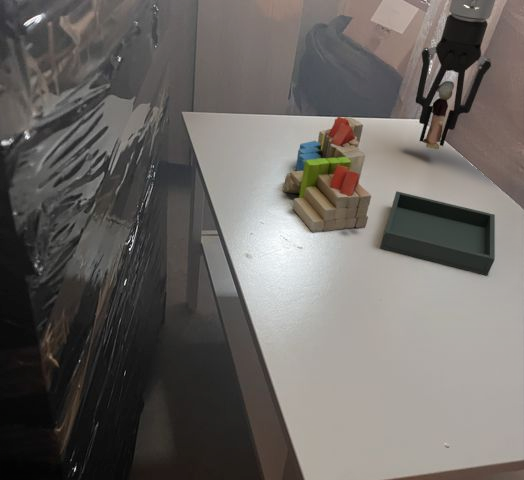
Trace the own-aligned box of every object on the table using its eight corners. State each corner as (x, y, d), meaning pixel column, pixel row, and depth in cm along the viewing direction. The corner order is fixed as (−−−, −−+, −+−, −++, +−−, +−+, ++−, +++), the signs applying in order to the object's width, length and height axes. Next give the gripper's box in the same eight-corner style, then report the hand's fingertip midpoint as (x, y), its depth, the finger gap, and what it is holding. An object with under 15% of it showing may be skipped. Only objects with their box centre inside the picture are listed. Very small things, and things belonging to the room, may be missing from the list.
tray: (488, 229, 104) (494, 214, 102) (487, 275, 93) (494, 259, 91) (392, 206, 107) (396, 191, 105) (379, 248, 96) (384, 231, 94)
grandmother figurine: (446, 151, 121) (466, 88, 113) (429, 151, 120) (448, 87, 112) (430, 136, 127) (449, 75, 118) (414, 136, 126) (431, 74, 117)
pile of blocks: (285, 142, 123) (292, 88, 116) (353, 151, 124) (364, 97, 116) (281, 228, 97) (290, 165, 89) (367, 239, 97) (384, 177, 90)
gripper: (421, 13, 106) (390, 139, 121) (514, 29, 103) (470, 156, 119) (425, 5, 111) (395, 127, 127) (513, 20, 109) (471, 143, 124)
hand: (431, 141), depth 123 cm, fingers closed on grandmother figurine, 3 cm apart
